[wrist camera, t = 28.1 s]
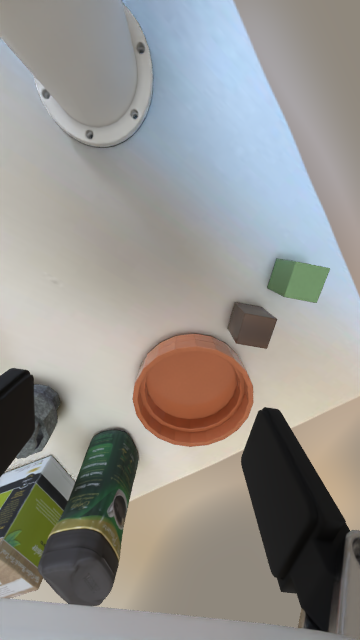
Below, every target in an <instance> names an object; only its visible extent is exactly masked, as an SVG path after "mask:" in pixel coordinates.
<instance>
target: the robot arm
mask: <svg viewBox="0 0 360 640" xmlns="http://www.w3.org/2000/svg"><path fill="white" fill-rule="evenodd" d="M0 37H1V38H2V40H3V41H4V42H5V43H6V44H7V45H8V46H9V48H10V49H11V50H12V51H13V52H14V53H15V54H16V56H17V57H18V58H19V59H20V60H21V61H22V63H23V64H24V65H25V66H26V67H27V68H28V69H29V71H30V72H31V73H32V74H33V76H34V80H35V84H36V88H37V91H38V93H39V96H40V98H41V101H42V102H43V104H44V106H45V108H46V109H47V111H48V113H49V114H50V116H51V117H52V118H53V119H54V121H55V122H56V123H57V124H58V125H59V126H60V127H61V128H62V129H63V130H64V131H65V132H66V133H67V134H69V135H70V136H71V137H73V138H74V139H76V140H78V141H80V142H82V143H84V144H87V145H90V146H94V147H109V146H114V145H117V144H119V143H121V142H124V141H125V140H126V139H128V138H129V137H130V136H132V135H133V134H134V133H135V132H136V130H137V129H138V128H139V127H140V126H141V124H142V122H143V120H144V119H145V117H146V115H147V112H148V109H149V106H150V103H151V98H152V93H153V70H152V62H151V57H150V51H149V47H148V44H147V41H146V38H145V36H144V33H143V31H142V29H141V27H140V25H139V23H138V22H137V20H136V19H135V17H134V16H133V15H132V13H131V12H130V10H129V9H128V8H127V7H126V6H125V5H124V4H123V3H122V0H0ZM140 53H143V54H140ZM49 97H50V98H49ZM135 116H137V117H138V118H137V119H134V117H135ZM91 136H93V138H92V139H90V138H91ZM34 430H35V405H34V378H33V375H30V372H29V371H28V370H22V369H16V368H11V369H9V370H8V371H6V372H5V373H4V374H2V375H1V376H0V477H1V476H2V475H3V473H4V472H5V471H6V469H7V468H8V467H9V465H10V464H11V463H12V461H13V460H14V459H15V458H16V456H17V455H18V454H19V452H20V451H21V450H22V448H23V447H24V446H25V445H26V443H27V442H28V441H29V439H30V438H31V437H32V435H33V433H34ZM241 465H242V469H243V472H244V476H245V480H246V483H247V487H248V490H249V494H250V498H251V501H252V505H253V509H254V512H255V516H256V519H257V523H258V527H259V530H260V534H261V537H262V541H263V545H264V548H265V552H266V556H267V559H268V563H269V566H270V569H271V572H272V574H273V576H274V577H276V578H277V580H278V583H279V586H280V590H281V592H287V593H297V596H298V599H299V602H300V605H301V608H302V609H301V614H300V619H299V625H298V628H294V627H287V626H279V625H271V624H263V623H254V622H245V621H235V620H225V619H215V618H206V617H196V616H186V615H176V614H167V613H156V612H146V611H135V610H125V609H115V608H104V607H94V606H84V605H73V604H63V603H52V602H42V601H30V600H19V599H8V598H0V640H360V531H359V530H352V531H350V530H349V528H348V526H347V525H346V523H345V522H346V521H345V519H344V518H343V516H342V514H341V512H340V511H339V509H338V507H337V506H336V504H335V502H334V501H333V499H332V497H331V496H330V494H329V492H328V491H327V489H326V487H325V486H324V484H323V482H322V480H321V479H320V477H319V476H318V474H317V472H316V471H315V469H314V467H313V465H312V464H311V462H310V460H309V459H308V457H307V455H306V454H305V452H304V450H303V449H302V447H301V445H300V444H299V442H298V440H297V439H296V437H295V435H294V433H293V432H292V430H291V428H290V427H289V425H288V423H287V422H286V420H285V418H284V417H283V415H282V413H281V412H280V411H279V410H278V409H273V408H266V407H265V408H263V409H262V410H259V412H258V414H257V416H256V419H255V422H254V424H253V427H252V430H251V433H250V435H249V438H248V441H247V443H246V446H245V449H244V451H243V454H242V457H241Z"/></svg>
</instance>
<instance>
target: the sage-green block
mask: <svg viewBox="0 0 360 640" xmlns="http://www.w3.org/2000/svg"><path fill="white" fill-rule="evenodd" d="M329 270H330V268H326V267H321V266H316V265H311V264H306V263H301V262H295V261H289V260H283V259H276V262H275V265H274V268H273V272H272V275H271V278H270V281H269V284H268V287H267V288H268V289H270V290H272V291H274V292H276V293H278V294H280V295H281V296H283V297H287V298H293V299H298V300H303V301H309V302H314V303H317V300H318V298H319V295H320V293H321V290H322V288H323V285H324V283H325V280H326V278H327V275H328V273H329Z"/></svg>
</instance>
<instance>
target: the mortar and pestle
mask: <svg viewBox="0 0 360 640" xmlns="http://www.w3.org/2000/svg"><path fill="white" fill-rule="evenodd" d="M34 405H35V430H34V433H33V435H32V437H31V438H30V439H29V441H28V442H27V443H26V445H25V446H24V447H23V448H22V450H21V451H20V452H19V454H18V455H17V456H16V458H17V459H19V458H26V457H27V456H29V455H31V454H34V453H37V452H40V451H42V450H43V448H44V447H45V445H46V444H47V442H48V440H49V438H50V436H51V434H52V433H53V431H54V429H55V426H56V424H57V412H56V410H57V408H58V407H59V405H60V400H59V397H58V394H57V393H56V392H55V391H54V390H52V389H51V388H50V387H49V386H44V385H39V384H36V385H34Z"/></svg>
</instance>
